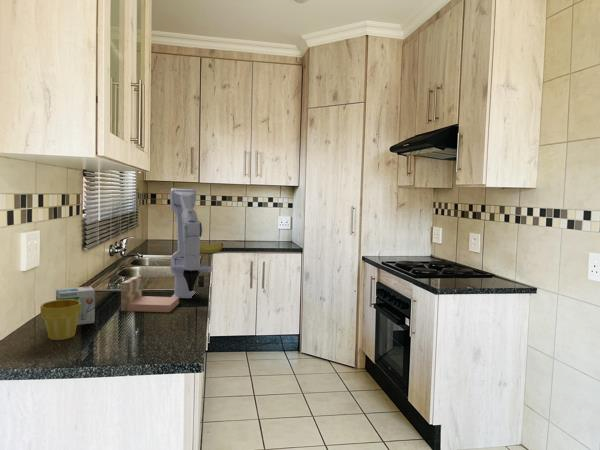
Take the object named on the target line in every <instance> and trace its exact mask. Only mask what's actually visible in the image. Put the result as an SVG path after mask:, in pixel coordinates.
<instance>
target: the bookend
mask: <svg viewBox="0 0 600 450" xmlns="http://www.w3.org/2000/svg"><path fill="white" fill-rule="evenodd" d="M120 283H121V284H120V312H128V311H127V304H128V303H130V302H131V301H133V300H134V299H136V298H137V297H139V296H143V276H142V275H140V274H139V275H138V274H137V275H133V277H130V278H128V279H126V280H124V281H122V282H120Z"/></svg>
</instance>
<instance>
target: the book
mask: <svg viewBox="0 0 600 450" xmlns="http://www.w3.org/2000/svg"><path fill="white" fill-rule="evenodd" d="M179 304H180V298H179V297H171V296H152V295H151V296H150V295H149V296H147V295H146V296H144V295H142V296H139V297H137V298H136V299H134V300H133V301H131V302H130V303H128V304H127V311H126V312H146V313H147V312H151V313H157V312H158V313H170V312H172V311H173V310H174V309H175V308H176V307H177V306H178V305H179Z"/></svg>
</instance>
